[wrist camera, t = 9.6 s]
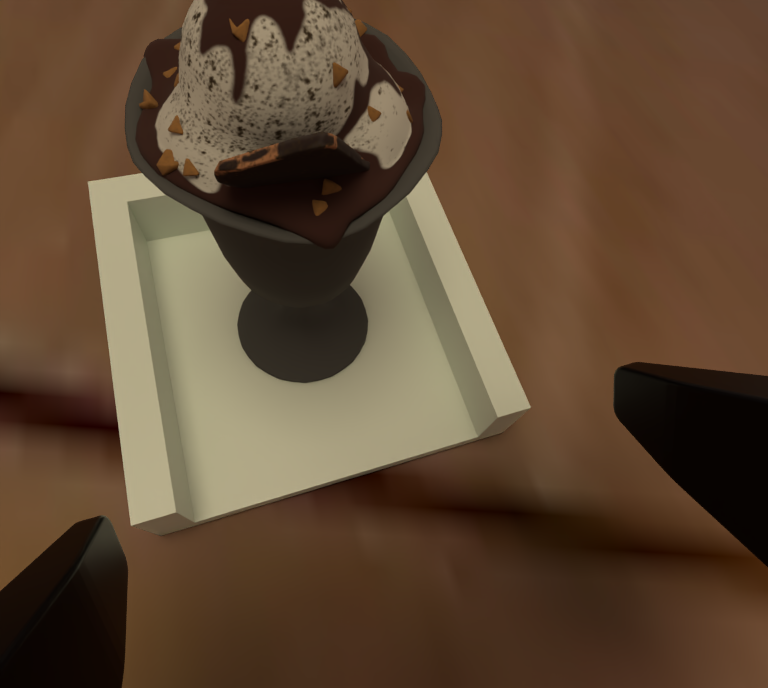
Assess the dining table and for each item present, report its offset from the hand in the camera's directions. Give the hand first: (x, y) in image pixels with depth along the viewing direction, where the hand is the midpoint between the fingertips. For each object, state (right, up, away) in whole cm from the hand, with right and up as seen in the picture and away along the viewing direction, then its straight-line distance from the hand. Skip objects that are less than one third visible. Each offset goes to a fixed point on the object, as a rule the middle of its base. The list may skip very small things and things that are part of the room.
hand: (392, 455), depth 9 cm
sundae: (-3, +3, +11) cm, 12 cm away
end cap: (-3, +3, +12) cm, 13 cm away
